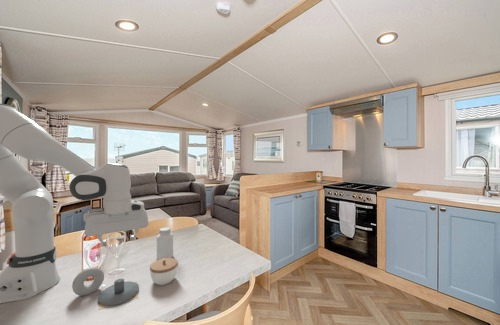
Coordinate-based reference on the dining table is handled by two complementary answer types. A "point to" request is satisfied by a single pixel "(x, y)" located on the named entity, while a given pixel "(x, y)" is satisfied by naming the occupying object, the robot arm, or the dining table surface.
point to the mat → (109, 306)
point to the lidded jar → (163, 270)
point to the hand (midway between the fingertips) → (119, 242)
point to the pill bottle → (164, 243)
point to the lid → (118, 293)
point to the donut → (80, 278)
